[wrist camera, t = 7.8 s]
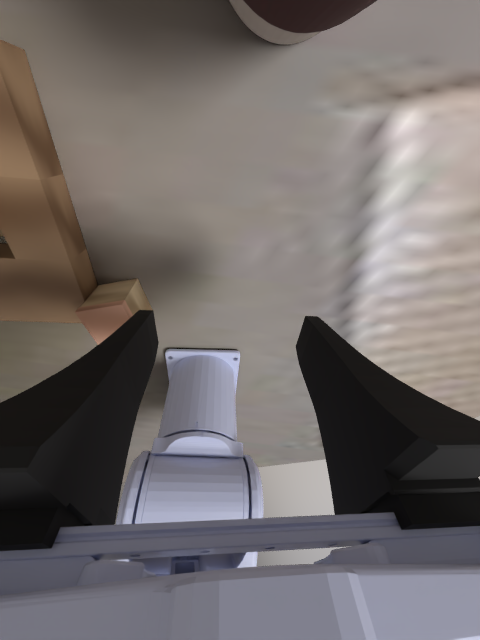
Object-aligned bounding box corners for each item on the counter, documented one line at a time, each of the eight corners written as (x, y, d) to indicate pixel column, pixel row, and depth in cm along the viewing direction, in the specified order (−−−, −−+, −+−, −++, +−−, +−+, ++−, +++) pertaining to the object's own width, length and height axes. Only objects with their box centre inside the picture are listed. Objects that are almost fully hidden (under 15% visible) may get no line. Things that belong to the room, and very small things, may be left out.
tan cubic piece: (153, 311, 23) (142, 340, 19) (117, 317, 23) (99, 347, 20) (138, 277, 21) (122, 304, 17) (97, 284, 21) (74, 312, 17)
